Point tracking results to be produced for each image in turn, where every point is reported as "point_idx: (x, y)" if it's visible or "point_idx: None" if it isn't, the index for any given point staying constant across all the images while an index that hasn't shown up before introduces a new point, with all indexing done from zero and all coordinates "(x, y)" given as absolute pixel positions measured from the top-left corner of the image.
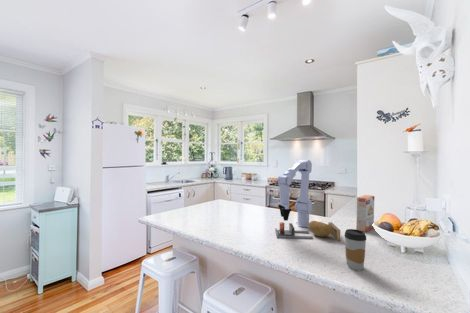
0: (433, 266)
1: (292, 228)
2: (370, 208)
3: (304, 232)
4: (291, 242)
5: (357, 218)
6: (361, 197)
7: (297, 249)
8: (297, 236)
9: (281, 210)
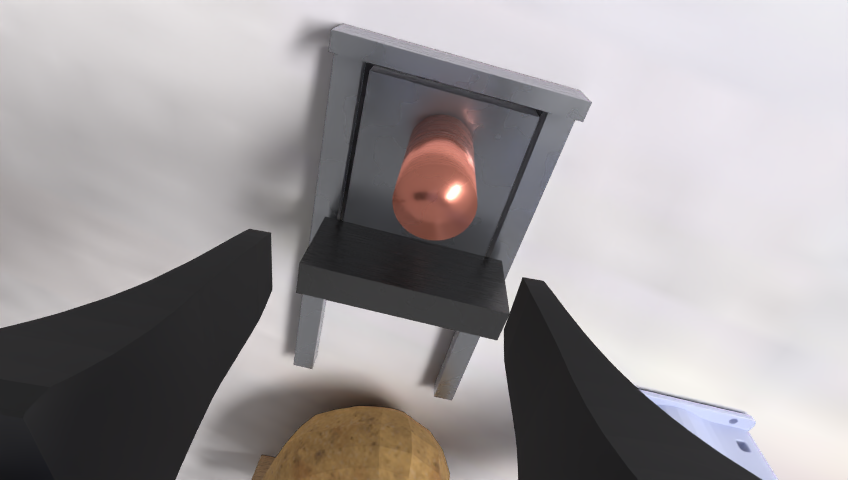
0: None
1: (299, 270)
2: None
3: (445, 362)
4: (198, 147)
5: None
6: None
7: (21, 131)
8: None
9: (554, 390)
